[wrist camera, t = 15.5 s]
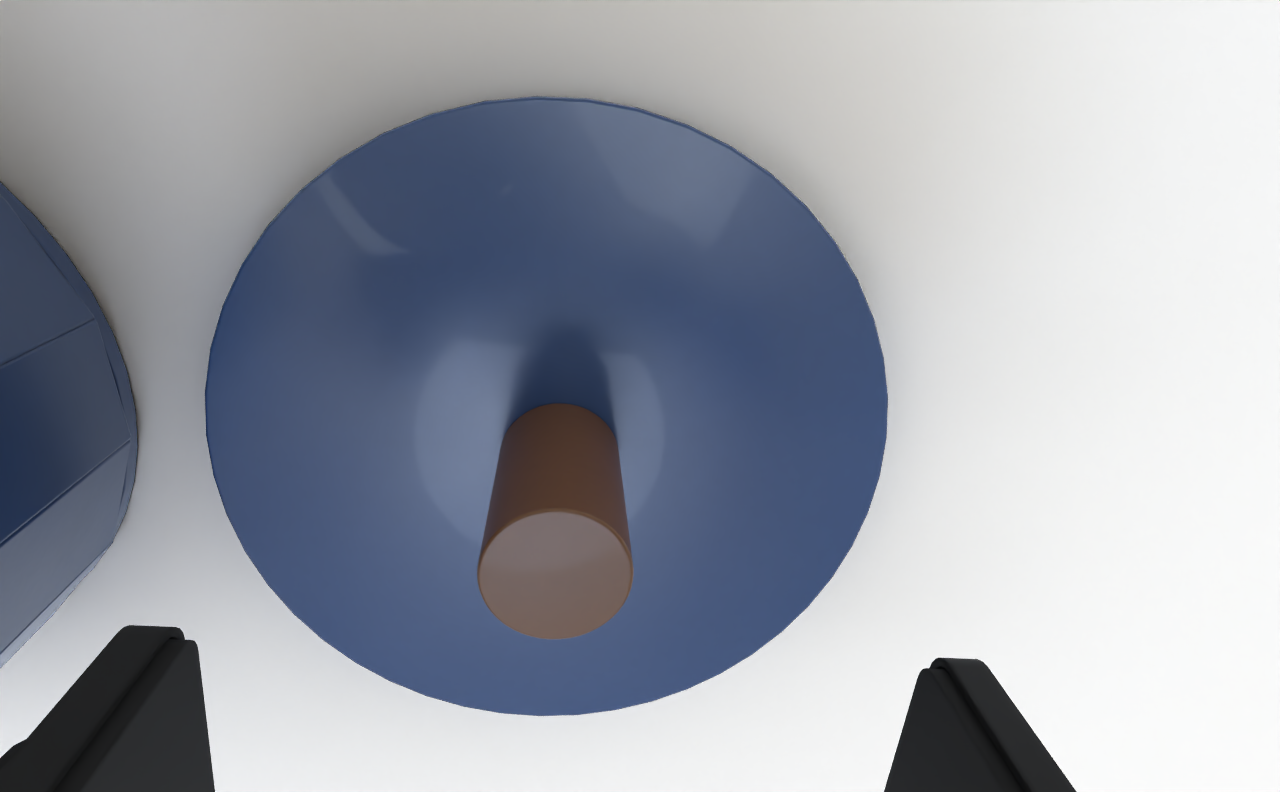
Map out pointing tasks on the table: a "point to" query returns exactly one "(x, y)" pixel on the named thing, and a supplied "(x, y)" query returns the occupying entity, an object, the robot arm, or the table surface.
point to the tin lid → (546, 406)
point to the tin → (54, 427)
